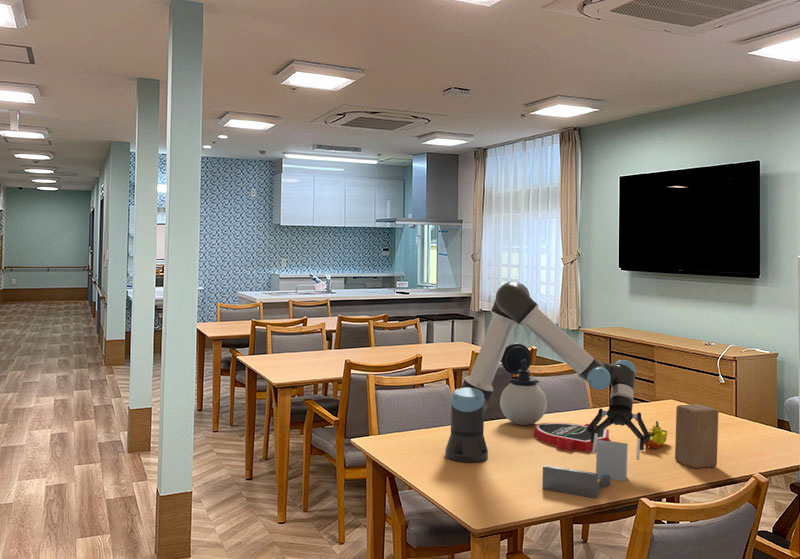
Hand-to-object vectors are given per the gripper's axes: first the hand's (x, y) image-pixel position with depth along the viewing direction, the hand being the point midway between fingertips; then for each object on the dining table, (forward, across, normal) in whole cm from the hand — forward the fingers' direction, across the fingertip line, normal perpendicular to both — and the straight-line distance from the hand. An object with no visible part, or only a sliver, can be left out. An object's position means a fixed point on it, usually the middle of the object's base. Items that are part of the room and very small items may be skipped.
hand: (615, 455), depth 209 cm
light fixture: (-33, +44, -43) cm, 70 cm away
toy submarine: (-25, -10, -35) cm, 44 cm away
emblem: (-21, +21, -32) cm, 44 cm away
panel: (+6, +1, -4) cm, 7 cm away
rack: (+16, +11, +7) cm, 21 cm away
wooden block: (-14, -24, -24) cm, 37 cm away
